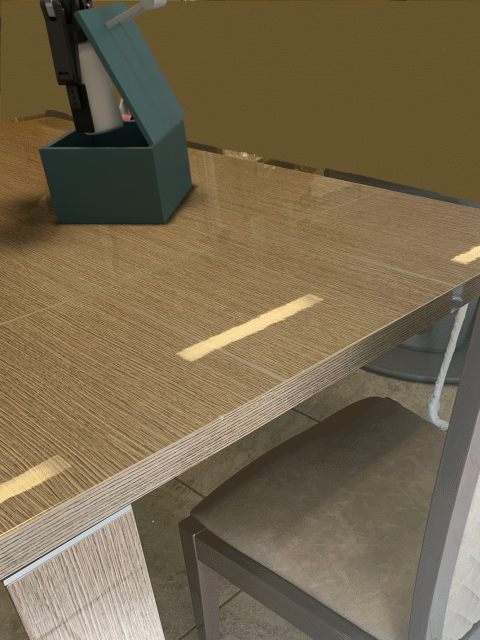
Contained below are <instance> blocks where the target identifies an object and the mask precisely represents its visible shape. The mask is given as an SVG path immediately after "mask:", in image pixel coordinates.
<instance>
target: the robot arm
mask: <svg viewBox="0 0 480 640" xmlns="http://www.w3.org/2000/svg"><path fill="white" fill-rule="evenodd" d="M39 6H40V10H41V12H42V16H43V19H44V22H45V28H46V33H47V38H48V43H49V48H50V53H51V58H52V62H53V68H54V73H55V78H56V82H57V84H58V86H65V89H66V94H67V98H68V99H67V100H68V103H69V108H70V111H71V112H70V113H71V117H72V120H73V125H74V127H75V130H76V133H94V132H95V128H94V124H93V119H92V114H91V109H90V105H89V100H88V95H87V90H86V85H85V84H82V79H81V69H80V59H79V49H78V43H82V42H86V41H88V38H87V36H86V35H85V33H84V31H83V29H82V28H81V26H80V24H79V23H78V21H77V19H76V17H75V16H74V13H75V12H77V11H80V10H85V9H90V8H94V6H93V0H39Z"/></svg>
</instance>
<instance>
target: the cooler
mask: <svg viewBox="0 0 480 640" xmlns="http://www.w3.org/2000/svg"><path fill="white" fill-rule="evenodd" d="M123 121H124V124H123V127H121V128H119V129H117V130H114V131H111V132H107V133H103V134H98V135H87V134H86V133H76V130H75V126H74V127H72V128H71V129H69V130H68V131H66V132H64V133H63V134H61V135H59V136H58V137H56V138H54V139H53V140H51V141H50V142H48V143H46V144H44V145H43V146H41V147H40V148H38V153H39V157H40V160H41V161H40V162H41V164H42V170H43V173H44V175H45V180H46V184H47V188H48V191H49V195H50V199H51V203H52V207H53V211H54V214H55V218H56V222H57V224H70V225H71V224H72V225H73V224H78V225H79V224H81V225H82V224H83V225H85V224H87V225H89V224H96V225H97V224H98V225H99V224H101V225H102V224H103V225H107V224H108V225H111V224H113V225H119V224H121V225H123V224H124V225H165V224H166V222H168V220H169V219H170V217H171V216H172V215H173V213H174V212H175V210H176V209H177V208H178V206H179V205H180V203H182V201H183V199H184V198H185V197H186V196H187V194H188V193H189V191H190V190H191V189H192V188H193V181H192V172H191V165H190V159H189V158H190V157H189V150H188V143H187V136H186V135H187V134H186V128H185V127H186V126H185V120H184V119H181V120H180V121H179V122H178V123H177V124H176V125H175V126H174V127H172V128H171V129H170V130H169V131H168V132H167V133H166V134H165V135H164V136H163V137H161V138H160V139H159V140H158V141H157V142H156V143H155V144H153V145H152V146H149V144H148V143H147V141H146V139H145V137H144V136H143V134H142V132H141V130H140V129H139V127H138V125H137V123H136V122H135V120H123Z"/></svg>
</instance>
